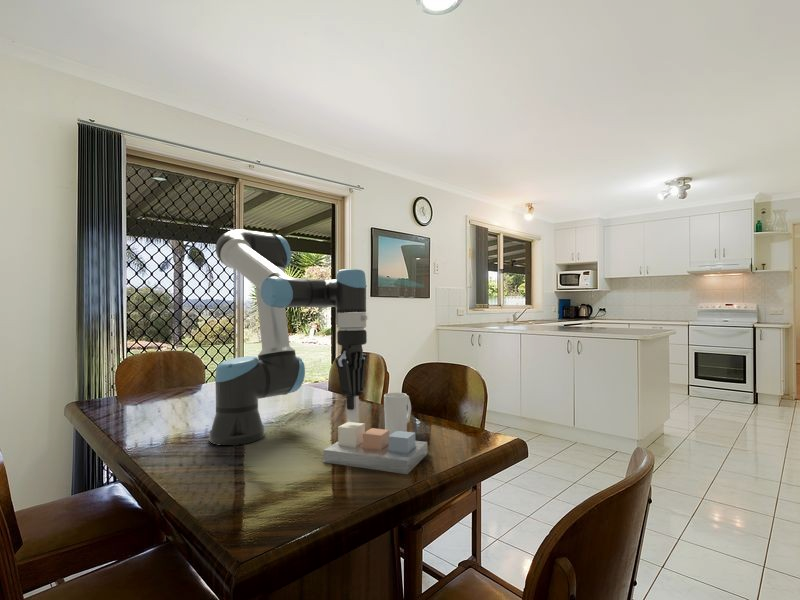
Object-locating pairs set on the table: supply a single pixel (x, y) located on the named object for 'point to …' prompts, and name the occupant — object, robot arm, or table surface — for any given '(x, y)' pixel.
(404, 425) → the mug
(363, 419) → the table surface
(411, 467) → the grey slotted board
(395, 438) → the slate key
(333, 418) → the table surface
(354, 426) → the cream cube
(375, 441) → the terracotta key
